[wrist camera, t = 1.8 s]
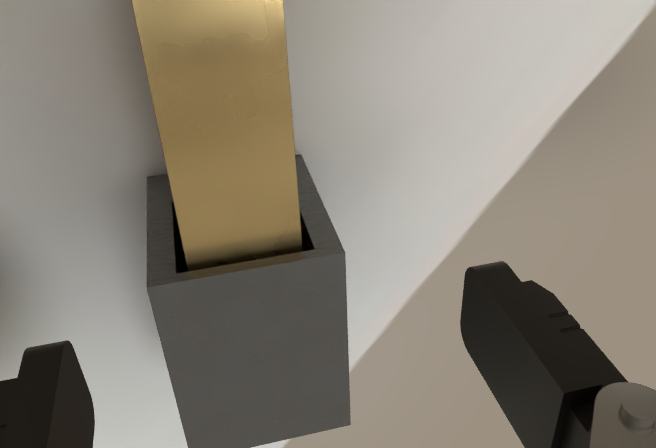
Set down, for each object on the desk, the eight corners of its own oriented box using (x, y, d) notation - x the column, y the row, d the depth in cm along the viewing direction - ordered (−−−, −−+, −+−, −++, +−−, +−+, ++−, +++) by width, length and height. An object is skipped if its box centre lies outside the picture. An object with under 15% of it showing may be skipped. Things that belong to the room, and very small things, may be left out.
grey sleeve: (183, 333, 33) (191, 460, 27) (147, 177, 28) (146, 287, 21) (312, 309, 34) (350, 424, 28) (301, 154, 29) (344, 252, 23)
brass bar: (212, 356, 31) (220, 424, 27) (112, -140, 19) (104, -130, 16) (296, 339, 31) (314, 404, 28) (250, -148, 20) (271, -141, 16)
